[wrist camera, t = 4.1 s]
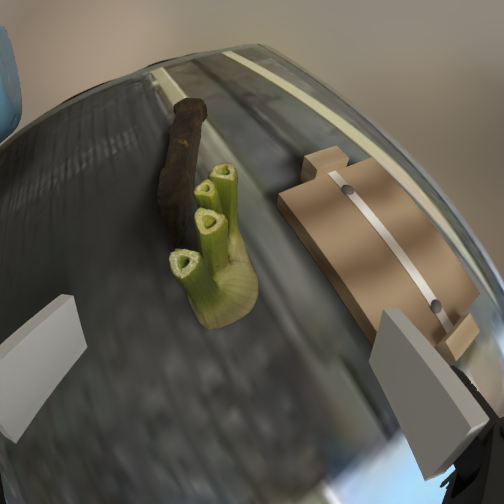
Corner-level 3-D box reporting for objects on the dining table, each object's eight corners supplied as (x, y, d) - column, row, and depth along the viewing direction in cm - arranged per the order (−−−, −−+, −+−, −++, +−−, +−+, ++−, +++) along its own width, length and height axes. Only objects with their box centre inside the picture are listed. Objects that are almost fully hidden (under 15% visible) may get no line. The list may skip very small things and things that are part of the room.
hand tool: (178, 122, 32) (172, 93, 28) (208, 120, 32) (205, 90, 28) (148, 252, 23) (129, 223, 19) (191, 251, 23) (179, 221, 19)
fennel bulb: (221, 347, 19) (188, 292, 9) (176, 303, 21) (112, 213, 10) (273, 292, 21) (296, 189, 11) (227, 254, 23) (212, 138, 12)
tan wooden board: (265, 192, 26) (267, 169, 23) (355, 158, 29) (362, 137, 26) (402, 396, 17) (424, 395, 14) (476, 316, 20) (497, 305, 17)
